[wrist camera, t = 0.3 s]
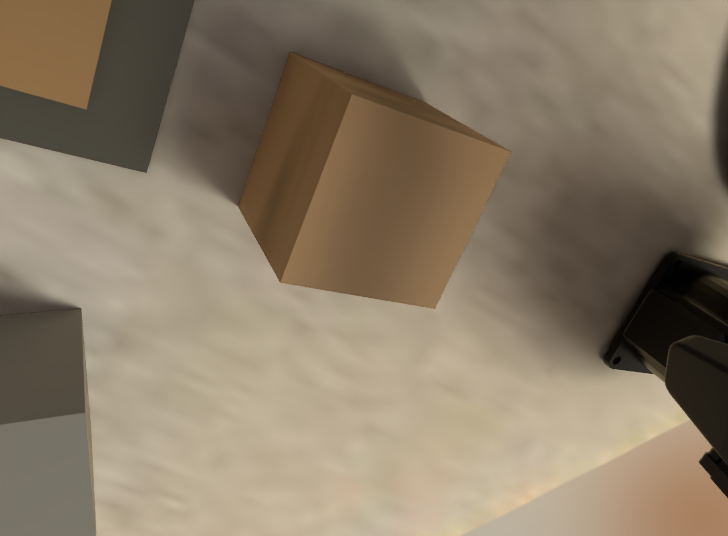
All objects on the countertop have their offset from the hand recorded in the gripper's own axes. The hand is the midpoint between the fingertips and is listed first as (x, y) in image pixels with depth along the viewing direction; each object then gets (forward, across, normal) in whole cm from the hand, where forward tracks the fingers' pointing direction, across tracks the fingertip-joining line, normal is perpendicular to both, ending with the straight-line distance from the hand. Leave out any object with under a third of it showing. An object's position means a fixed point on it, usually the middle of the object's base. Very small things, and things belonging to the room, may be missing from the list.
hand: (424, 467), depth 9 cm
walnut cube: (+13, -3, 0) cm, 13 cm away
